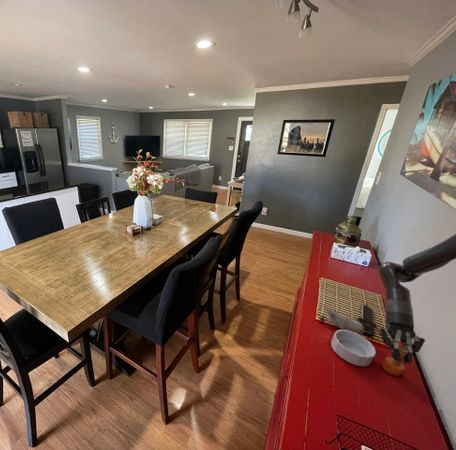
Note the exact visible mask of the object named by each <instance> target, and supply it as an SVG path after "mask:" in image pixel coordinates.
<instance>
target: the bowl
mask: <svg viewBox="0 0 456 450" xmlns="http://www.w3.org/2000/svg"><path fill="white" fill-rule="evenodd" d="M330 346H331V348H332V350H333V352H335V353H336V354H337V356H339V357H340V358H341V359H342V360H345V361H346V362H348V363H350V364H353V365H355V366H359V367H367V366H370V365H371V363H372V361H373V360H374V358H375V356H376V354H377V352H376V348H375V346H374V345H373V344H372V342H370V341H369V340H368V339H366V337H364V336H362V335H360V334H359V333H358V332H355V331H353V330H346V329H337V330H336V331H335V332H334V334H333V335H332V339H331V340H330Z"/></svg>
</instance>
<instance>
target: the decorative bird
mask: <svg viewBox="0 0 456 450" xmlns="http://www.w3.org/2000/svg"><path fill="white" fill-rule="evenodd" d="M323 309H324V311H325V313H326V315H323V314H322V313H321V324H323V322H324V318H326V317H327V318H326V319H325V321H329V322H330V323H331V324H333V325H334V326H337V327H339V328H340V329H341V330H349V331H353V332H355V333H357V334H359V335H360V336H362V335H364V334H363V333H364V331H365V330H364V329H365V328H364V327H363V325H362V324H361V323H360V321H358V320H355V319H352V318H350V317H348V316H347V315H345V314H342V313H339V312H338V311H335V310H332V309H329V308H328V307H325V306H324V307H323Z"/></svg>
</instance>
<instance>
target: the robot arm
mask: <svg viewBox="0 0 456 450" xmlns="http://www.w3.org/2000/svg"><path fill="white" fill-rule="evenodd" d="M454 260H456V233H455V234H453V235H452V236H450V237H448V238H446V239H445V240H443V241H440V242H439V243H437V244H435V245H434V246H431V247H429V248H427V249H425V250H422V251H419V252H417V253H415V254H412V255H410V256H407V257H406V258H404V259H403V260H402V264H401V263H400V264H399V263H396V262H391V261H385V262H383V263H381V264H380V266H379V268H378V276H379V278H380V280H381V283H382V285H383V288H384V290H385V303H384V311H385V323H386V325H385V327H377V329H376V330H377V332H378V334H379V336H380V338H381V340H382V342H383V343H384V346H387V347H389V348H390V352H391V354H390V355H391V357H393V359H394V360H398V361H399V360H400V358H399V350H398V347H399V346H400V343H401V346H403V347H405V348H407V349H408V351H409V352H408V353H407V355H406V357H405V358H404V360H403V362H404V363H405V364H407V365H408V364H409V365H411V364H412V362H413V354H414V353H419V352H420V351H421V349H422V347H423V346H424V343H425V342H426V339H425V338H424V337H420V336H418V335H417V334H416V332H415V330H414V329H415V323H414V311H413V306H412V300H411V290H410V289H409V288H408V287H406V286H404V285H402V284H401V283H403V284H405V283H411V282H413V281H415V280H417V279H418V278H419V277H421V276H422V275H423V274H426V273H430V272H433V271H435V270H439V269H440V268H443V267H445V266H446V265H448V264H449V263H451V262H452V261H454ZM388 334H389V335H388ZM389 336H390V337H389ZM412 340H413V342H412Z"/></svg>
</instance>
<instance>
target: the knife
mask: <svg viewBox="0 0 456 450" xmlns="http://www.w3.org/2000/svg"><path fill="white" fill-rule="evenodd" d="M357 321H358V322H359V323H361V324H362V325H363V327H364V333H363V334H362V335H365V336H367V337H368V336H369V337H374V336H373V335H374V333H375V328H376V326H377V323H375V322H374V321H373V309H372V308H371V307H369V306H368V305H367V304H364V305H361V317H358V319H357ZM366 322H367V324H368V325H366V324H365V323H366Z"/></svg>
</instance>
